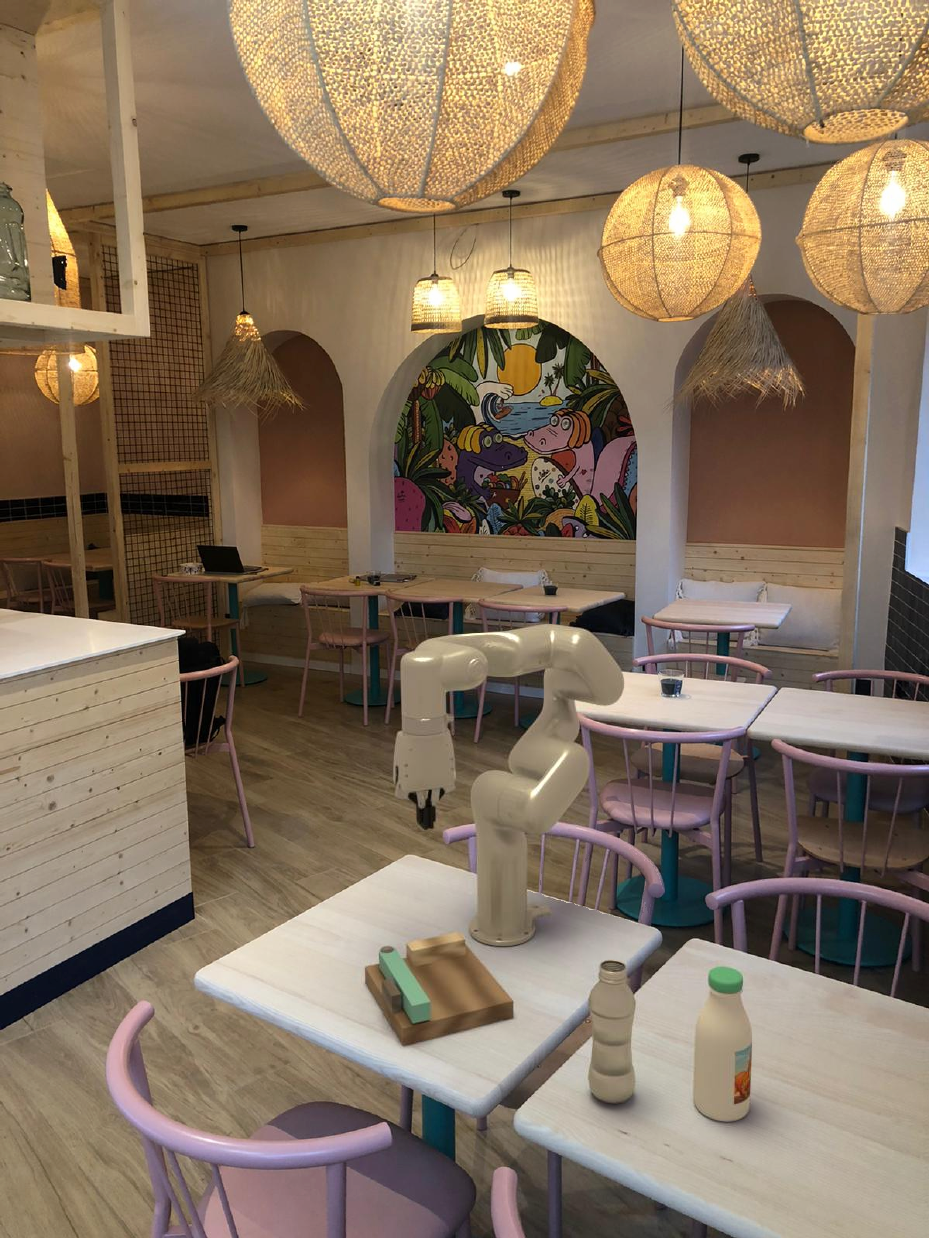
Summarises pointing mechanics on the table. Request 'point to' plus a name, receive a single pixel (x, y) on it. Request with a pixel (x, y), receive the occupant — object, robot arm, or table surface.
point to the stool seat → (442, 990)
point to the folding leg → (405, 985)
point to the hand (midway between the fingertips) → (426, 826)
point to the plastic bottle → (611, 1034)
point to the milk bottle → (723, 1050)
